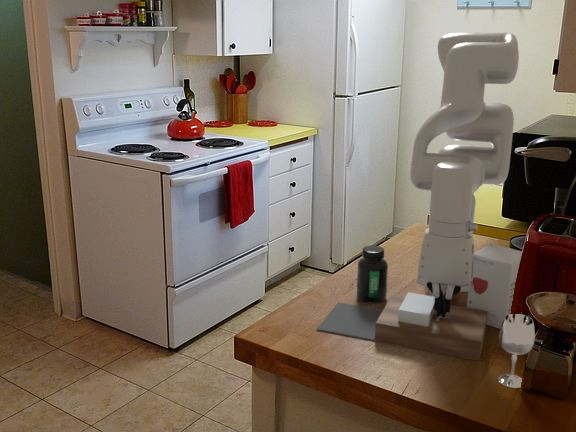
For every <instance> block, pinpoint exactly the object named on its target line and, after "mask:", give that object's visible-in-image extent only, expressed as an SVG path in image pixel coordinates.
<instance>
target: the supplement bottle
mask: <svg viewBox="0 0 576 432" xmlns="http://www.w3.org/2000/svg"><path fill="white" fill-rule="evenodd" d="M361 254H362V255H361V256H362V257H361V258H360V259H359V260H358V262H357V271H356V272H357V277H356V297H357V299H358V300H359V301H361V302H363V303H367V304H379V303H382V302H384V301H385V300H386V299H387V291H388V274H389V272H388V271H389V264H388V262H387V260H386V259H385V249H384V248H383V247H382V246H378V245H366V246H364V247H363V248H362V253H361Z"/></svg>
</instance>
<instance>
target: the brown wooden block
mask: <svg viewBox="0 0 576 432" xmlns="http://www.w3.org/2000/svg"><path fill="white" fill-rule="evenodd" d="M404 299H405V297H402V296H398V295H397V296H395V295H391V297H390V298H389V300H388V301H387V304H386V305H385V306H384V309H382V310H383V311H382V313H381V315H380V316H379V318H378V320H377V322H376V326H375V340H374V342H379V343H382V344H388V345H393V346H399V347H403V348H410V349H415V350H419V351H425V352H430V353H436V354H440V355H446V356H450V357H451V356H452V357H457V358H462V359H468V360H473V361H476V362H477V361H478V362H480V359H481V353H482V349H483V344H484V339H485V334H486V331H487V324H486V323H487V314H488V311H484V310H478V309H472V308H467V307H465V306H458V305H452V304H451V306H450V312H447V313H446V316H445V318H444V317H442V316H439V317H438V316H437V311H436V310H435V312H434V314H433V317H432V319H431V322H430V324H429V326H428V327H427V326H421V325H416V324H411V323H405V322H400V321H398V312H399V308H400V306H401V304H402V303H403V301H404Z"/></svg>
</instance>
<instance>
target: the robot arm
mask: <svg viewBox="0 0 576 432" xmlns="http://www.w3.org/2000/svg"><path fill="white" fill-rule="evenodd" d="M519 54H520V53H519V43H518V39H517V36H515V35H514V34H513V33H509V32H453V33H448V34H445V35H442V36H441V37H440V38H439V40H438V44H437V55H438V59H439V62H440V65H441V67H442V70H443V79H442V80H443V83H442V91H441V101H440V107H439V108H438V109H437V110H436V111H435V112H434V113H433V114H431V115H430V116H429V117H428V118H427V119H426V120H425V122H424V123H423V124H422V125H421V126H420V128H419V130H418V132H417V134H416V136H415V138H414V139H415V140H414V142H413V149H412V155H411V163H410V174H409V175H410V177H409V178H410V181H411V183H412V185H413V187H414V188H416V189H418V190H421V191H430V203H429V204H430V205H429V216H428V218H429V219H428V228H426V229H425V231H424V234H423V238H422V242H421V246H420V247H421V248H420V253H419V261H418V269H417V270H418V271H417V279H416V280H415V281H416V284H418V285H420V286H423V287H425V286H426V287H427V288H428V289H429V290H430V291H431V292H432V293H433V296H434V297H435V303H434V310H436V311H437V316H438V317H439V316H442V317H444V318H445V316H446V313H447V312H450V306H451V305H452V302H451V298H452V299H453V297H455V296H456V295H457V294H459V293H460V292H461V293H463V292H464V293H465V292H466V293H468V291H471V290H472V287H473V286H472V281H471V278H472V275H473V263H474V252H475V244H474V236H473V233H474V232H477V231H478V223H475V213H476V203H477V202H476V196H475V195H474V193H477V191H478V190H479V189H480V187H481V186H483V185H501V184H504V182H506V180H508V179H507V178H508V174H509V170H510V163H511V153H512V146H513V145H512V143H513V137H514V136H513V135H514V134H513V133H514V123H515V122H514V118H515V117H514V112H513V109H512V108H511V106H510V105H508V104H505V103H502V102H501V103H500V102H484V100H485V99H484V98H485V87H486V86H485V85H487V84H490V85H492V84H493V85H508V84H511V83H512V82H513V81H514V80H515V78H516V76H517V72H518V68H519V60H520V59H519V57H520V56H519ZM444 133H446V135H447V137H448V138H450V139H452V140H454V141H460V142H461V141H462V142H477V143H478V142H479V143H489V144H491V145H492V146H491V145H474V144H458V143H457V144H449V145H445V146H443V147H442V148H441V149H440V150H439V152H438V153H435V152H428V148H429V145H430V144H431V142H432V141H433V140H434V139H435V138H437V137H438V136H440V135H442V134H444ZM441 284H446V285H448V288H447V291H446V292H445V294H443V293H442V291H441Z"/></svg>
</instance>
